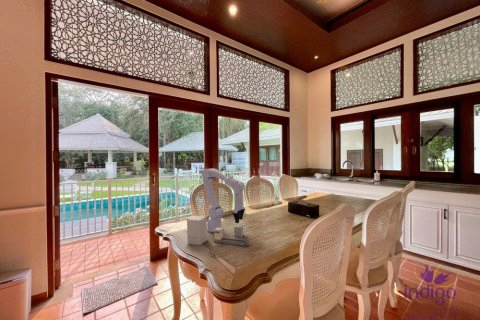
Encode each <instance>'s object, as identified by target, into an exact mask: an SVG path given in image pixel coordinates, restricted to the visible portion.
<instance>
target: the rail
mask: <svg viewBox="0 0 480 320" xmlns="http://www.w3.org/2000/svg"><path fill="white" fill-rule="evenodd" d="M249 241H250V239H249V238H246V239H238V238H231V237H230V238H227V237H223V238H222V239H221V240H217V239H214V238H213V243H216V244H224V245H225V244H226V245H231V246H232V245H233V246H238V247H239V246H240V247H246V248H247V247H248V246H249V244H250V242H249Z"/></svg>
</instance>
